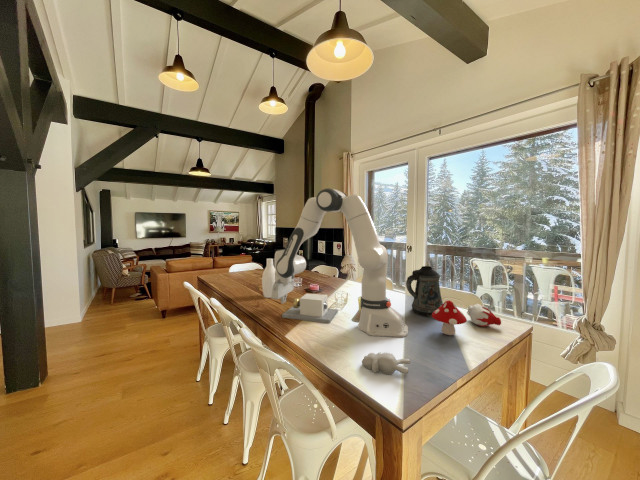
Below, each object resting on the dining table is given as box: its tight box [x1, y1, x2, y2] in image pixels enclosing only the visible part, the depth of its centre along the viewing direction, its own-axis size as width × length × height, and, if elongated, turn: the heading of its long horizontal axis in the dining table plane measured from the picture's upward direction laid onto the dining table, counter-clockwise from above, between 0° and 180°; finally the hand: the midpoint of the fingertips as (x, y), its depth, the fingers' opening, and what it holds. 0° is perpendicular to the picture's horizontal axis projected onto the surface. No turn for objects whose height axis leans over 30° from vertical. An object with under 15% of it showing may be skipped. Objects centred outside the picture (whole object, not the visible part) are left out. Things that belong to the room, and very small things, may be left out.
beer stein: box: [405, 265, 444, 318], centre depth 137 cm, size 16×19×25 cm
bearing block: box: [281, 292, 339, 324], centre depth 136 cm, size 26×16×10 cm, turn 72°
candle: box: [466, 303, 502, 328], centre depth 120 cm, size 9×11×15 cm
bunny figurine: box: [361, 352, 411, 375], centre depth 84 cm, size 10×5×15 cm
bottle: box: [261, 258, 275, 299], centre depth 171 cm, size 11×11×25 cm
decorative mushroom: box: [431, 300, 468, 336], centre depth 110 cm, size 14×14×15 cm
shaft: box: [292, 297, 328, 309], centre depth 136 cm, size 18×5×5 cm, turn 72°
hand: (283, 302), depth 141 cm, fingers closed
